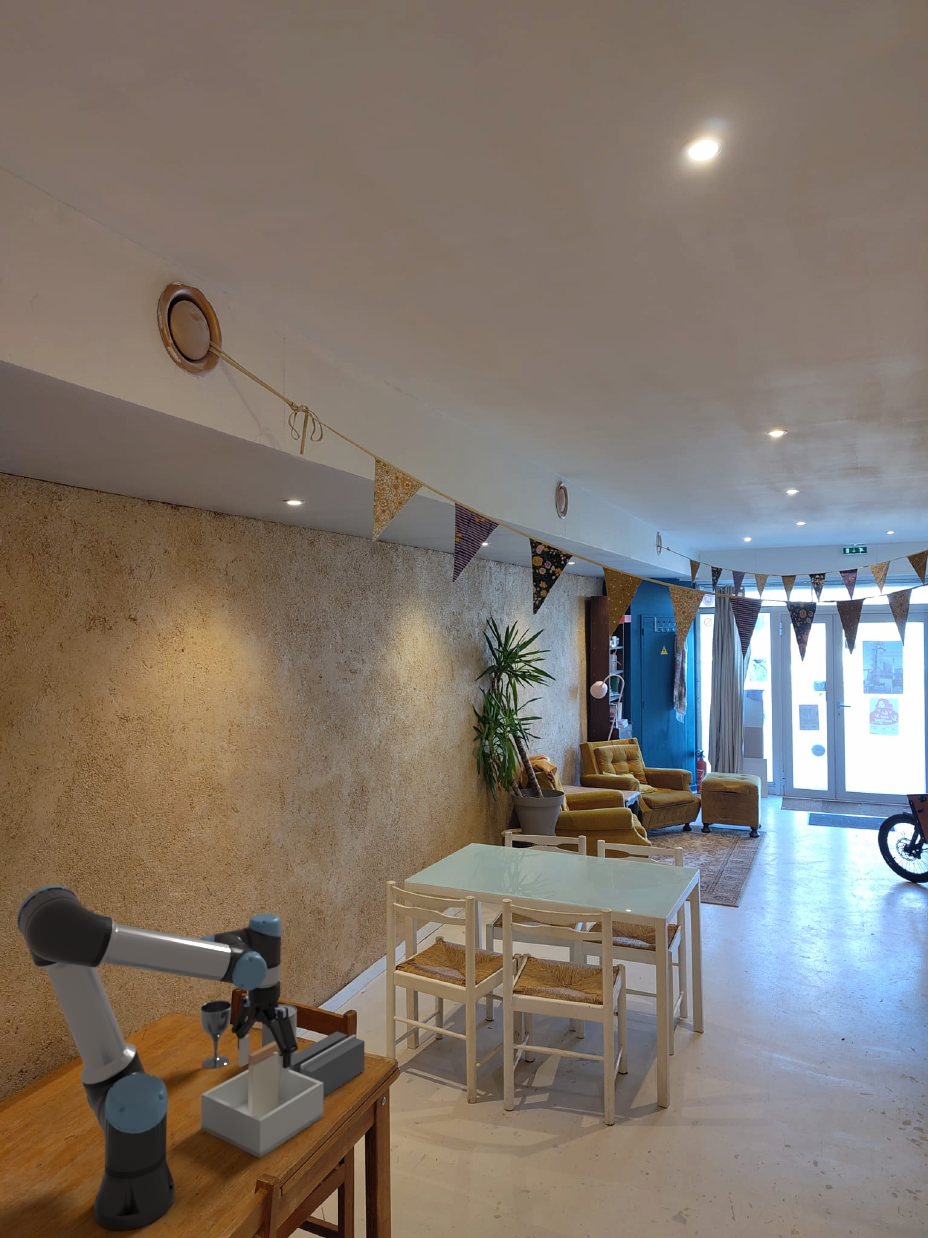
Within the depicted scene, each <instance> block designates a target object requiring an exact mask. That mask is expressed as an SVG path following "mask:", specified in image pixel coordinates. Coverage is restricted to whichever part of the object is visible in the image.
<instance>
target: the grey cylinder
mask: <svg viewBox="0 0 928 1238" xmlns="http://www.w3.org/2000/svg"><path fill="white" fill-rule="evenodd" d="M278 1007H279V1008H284V1007H287V1008H288V1014H289V1020H290V1023H291V1026H292V1030H293V1033H294V1036H295V1040H296V1041H297V1026H298V1025H297V1023H298V1021H297V1020H298V1019H297V1018H298V1017H297V1016H298V1015H297V1012H298V1009H297V1007H296V1006H294V1005H292V1004H285V1003H282V1004H281V1003H280V1004H278ZM274 1021H275V1019H274V1020H273V1021H272V1022H274ZM272 1022H271V1023H272ZM274 1041H275V1039H274V1036H273V1034H272V1032H271V1030H270V1029H269V1028H267V1026H266V1025H265V1024H263V1023H261V1048H262V1047H264V1046H266V1045H268V1044H270V1043H272V1042H274ZM275 1042H276V1041H275ZM275 1052H278V1058H279V1054H280V1053H281V1051H280V1049H279V1050H277V1051H275ZM295 1054H297V1051H295V1052H293V1053H291V1056H293V1055H295Z"/></svg>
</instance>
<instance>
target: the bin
mask: <svg viewBox="0 0 928 1238" xmlns="http://www.w3.org/2000/svg"><path fill="white" fill-rule="evenodd" d="M248 1073H249V1068H248V1069H246V1070H245V1071H242V1072H240V1073H239V1074H237V1075H236V1076H233V1077H231V1078H229V1079H227V1080H225V1081H224V1082H222V1083H221V1084H218V1085H217V1086H215V1087H213V1088H211V1089H209V1090H207V1091H205V1092H204V1093H202V1094H201V1100H200V1101H201V1107H200V1108H201V1110H200V1111H201V1114H200V1115H201V1116H200V1117H201V1119H200V1121H201V1122H200V1129H201V1130H202V1131H204V1132H205V1133H208V1134H210V1135H212V1136H214V1137H216V1138H218V1139H220V1140H222V1141H224V1142H225V1143H228V1144H230V1145H231V1146H234V1147H236V1148H238V1149H240V1150H243V1151H244V1152H245V1153H248V1154H250V1155H252V1156H255V1157H257V1158H258V1159H261V1158H263V1157H265V1156H266V1155H267V1154H269V1153H270V1152H272V1151H273V1150H275V1149H276V1148H278V1147H280V1146H281V1145H282V1144H284V1143H286V1142H287V1141H288V1140H290V1139H291V1138H293V1137H294V1136H297V1134H299V1133H301V1132H302V1131H304V1130H305V1129H306V1128H308V1127H309V1126H311V1125H313V1124H314V1123H316V1122H317V1121H319V1120H320V1119H322V1118H323V1117H324V1097H323V1082H320V1081H318V1080H315V1079H313V1078H310V1077H308V1076H305V1075H303V1074H300V1073H298V1072H295V1071H293V1070H290V1069H289V1079H288V1080H286V1081H284V1082H282V1083H281V1084H280V1083H278V1108H276V1109H274V1110H273V1111H271V1112H269V1113H268V1114H266V1115H265V1116H263V1117H261V1118H260V1117H258V1116H255V1115H253V1114H251V1113H249V1112H248Z"/></svg>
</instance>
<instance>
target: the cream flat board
mask: <svg viewBox="0 0 928 1238" xmlns="http://www.w3.org/2000/svg"><path fill="white" fill-rule="evenodd" d="M277 1050H279V1047H278V1045H277V1043H276V1042H275V1041H274V1042H272V1043H270V1044H268V1045H266V1046H264V1047H262V1046H261V1047H260V1048H259V1049H257V1050H254V1051H253V1052H250V1054H249V1055H248V1062H249V1063H248V1069H249V1073H248V1112H249V1113H251V1114H253V1115H255V1116H258V1117H260V1118H261V1117H263V1116H265V1115H266V1114H268V1113H269V1112H271V1111H273V1110H274V1109H276V1108H278V1052H275V1051H277Z"/></svg>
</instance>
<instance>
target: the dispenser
mask: <svg viewBox="0 0 928 1238" xmlns="http://www.w3.org/2000/svg"><path fill="white" fill-rule="evenodd" d="M289 1069H290V1070H293V1071H295V1072H298V1073H300V1074H303V1075H305V1076H308V1077H310V1078H313V1079H315V1080H318V1081H320V1082H323V1098H325V1097H327V1096H328V1095H330V1094H331V1093H333V1092H335V1091H336V1090H338V1089H340V1088H341V1087H342V1086H344V1085H345V1084H347V1083H349V1082H350V1081H352V1080H353V1079H355V1078H356V1077H355V1076H357V1075H358V1074H360V1073H361V1072H363V1071H364V1072H365V1040H364V1039H363V1040H362V1039H360V1038H357V1035H356V1034H352V1035H350V1036H349V1037H348V1034H345V1033H343V1032H339V1031H335V1032H333V1033H331V1034H329V1035H327V1036H325V1037H324V1038H322V1039H321V1040H319V1041H317V1042H315V1043H313V1044H311V1045H310V1046H308V1047H306V1048H304V1049H302V1050H301V1051H299V1052H296V1054H295V1055H293V1056H291V1065H290V1067H289ZM364 1072H363V1073H364ZM361 1074H362V1073H361ZM361 1074H360V1075H361ZM358 1076H359V1075H358ZM358 1076H357V1077H358ZM354 1077H355V1078H354ZM352 1078H353V1079H352ZM348 1081H349V1082H348ZM343 1084H344V1085H343Z"/></svg>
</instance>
